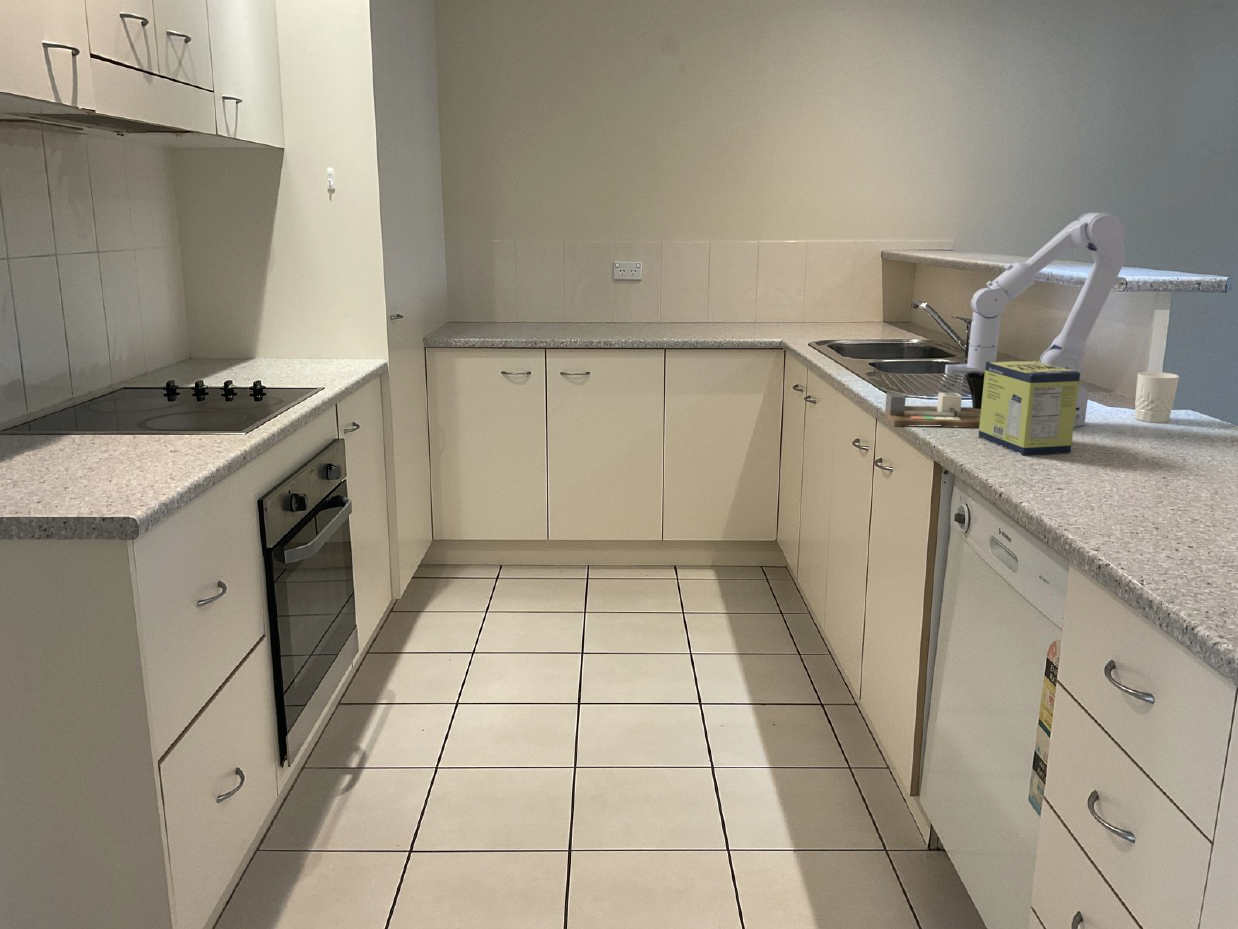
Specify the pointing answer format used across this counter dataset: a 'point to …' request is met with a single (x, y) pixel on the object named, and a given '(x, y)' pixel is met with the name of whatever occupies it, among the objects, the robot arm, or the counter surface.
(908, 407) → the anvil and rails
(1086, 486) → the counter surface
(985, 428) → the protein box
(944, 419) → the gauge scale
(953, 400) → the gauge carriage
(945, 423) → the gauge bed
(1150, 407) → the white cup
